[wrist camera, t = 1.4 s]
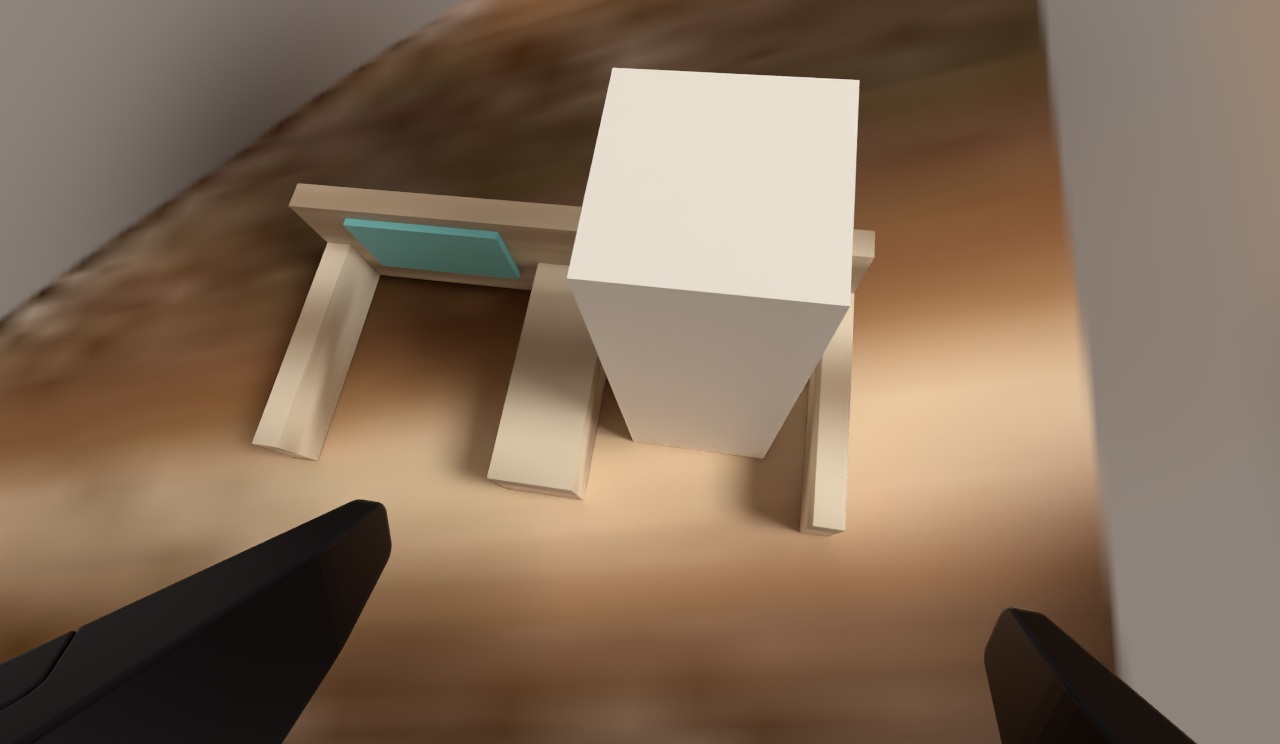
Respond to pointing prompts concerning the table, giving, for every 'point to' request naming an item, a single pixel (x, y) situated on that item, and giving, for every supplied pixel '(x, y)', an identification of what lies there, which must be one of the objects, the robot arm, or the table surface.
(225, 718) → the robot arm
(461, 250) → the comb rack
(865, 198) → the table surface
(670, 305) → the plug block
